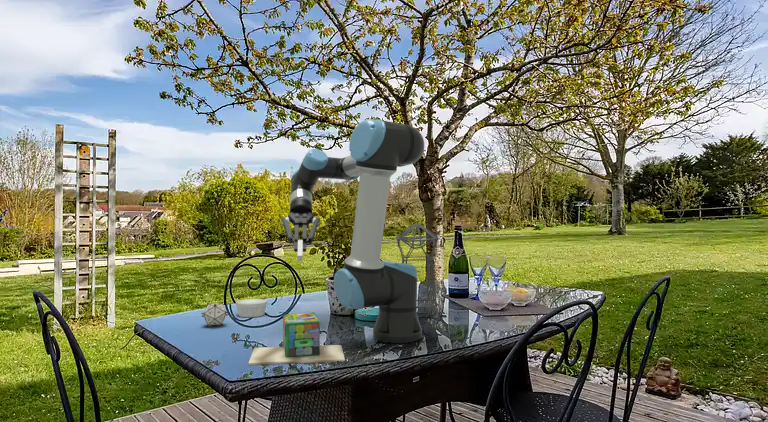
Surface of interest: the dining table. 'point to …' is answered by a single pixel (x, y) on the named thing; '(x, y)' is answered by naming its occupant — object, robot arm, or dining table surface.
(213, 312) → the game die
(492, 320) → the dining table surface
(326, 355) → the beige mat
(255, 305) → the ramekin
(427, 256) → the geometric lantern
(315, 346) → the chalk box
